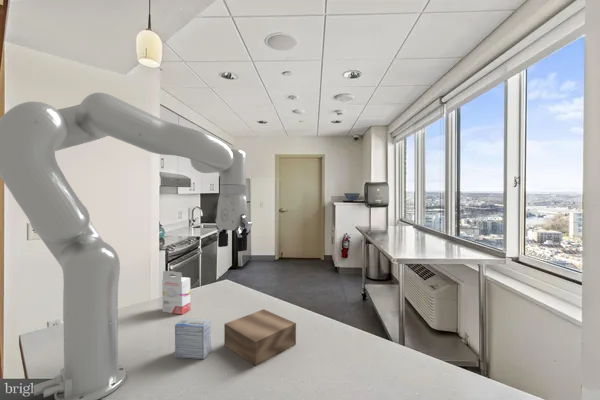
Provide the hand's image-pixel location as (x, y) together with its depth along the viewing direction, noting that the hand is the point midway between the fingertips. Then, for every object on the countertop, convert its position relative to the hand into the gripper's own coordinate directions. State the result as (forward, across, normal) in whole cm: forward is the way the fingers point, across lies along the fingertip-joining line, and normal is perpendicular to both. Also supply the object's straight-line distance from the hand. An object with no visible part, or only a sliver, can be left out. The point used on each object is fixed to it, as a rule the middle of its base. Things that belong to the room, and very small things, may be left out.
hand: (232, 248), depth 86 cm
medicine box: (+26, +2, -13) cm, 29 cm away
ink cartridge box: (+26, -29, -4) cm, 39 cm away
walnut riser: (+26, +11, +2) cm, 28 cm away
